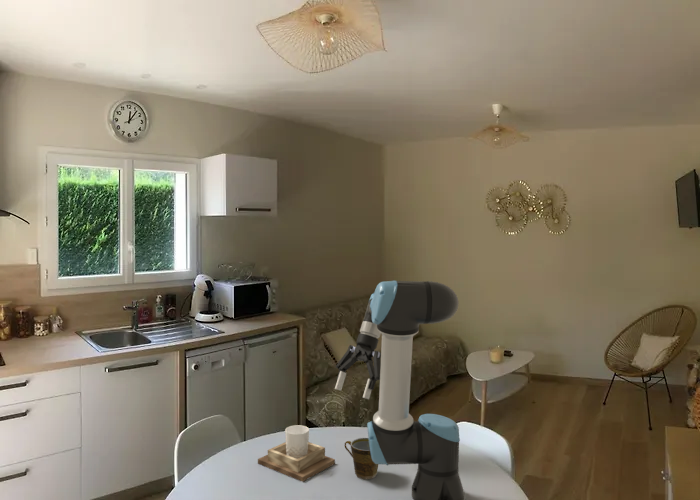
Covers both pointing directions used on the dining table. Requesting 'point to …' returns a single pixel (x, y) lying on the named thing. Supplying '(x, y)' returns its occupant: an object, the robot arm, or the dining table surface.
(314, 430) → the dining table surface
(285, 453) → the tray
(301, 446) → the white cup
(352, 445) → the ceramic cup
